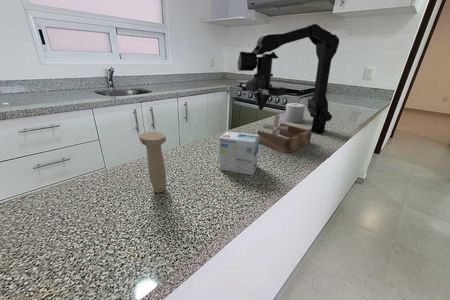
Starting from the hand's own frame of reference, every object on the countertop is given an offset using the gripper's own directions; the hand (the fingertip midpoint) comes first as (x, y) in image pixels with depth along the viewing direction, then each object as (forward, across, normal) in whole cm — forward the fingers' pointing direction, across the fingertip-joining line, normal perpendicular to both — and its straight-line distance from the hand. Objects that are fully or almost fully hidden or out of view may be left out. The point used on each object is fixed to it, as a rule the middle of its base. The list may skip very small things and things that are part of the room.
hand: (260, 109), depth 90 cm
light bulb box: (+12, +16, -29) cm, 35 cm away
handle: (+12, +11, -53) cm, 55 cm away
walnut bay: (+11, +12, 0) cm, 16 cm away
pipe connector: (+11, +8, 0) cm, 14 cm away
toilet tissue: (+11, -3, +34) cm, 36 cm away
